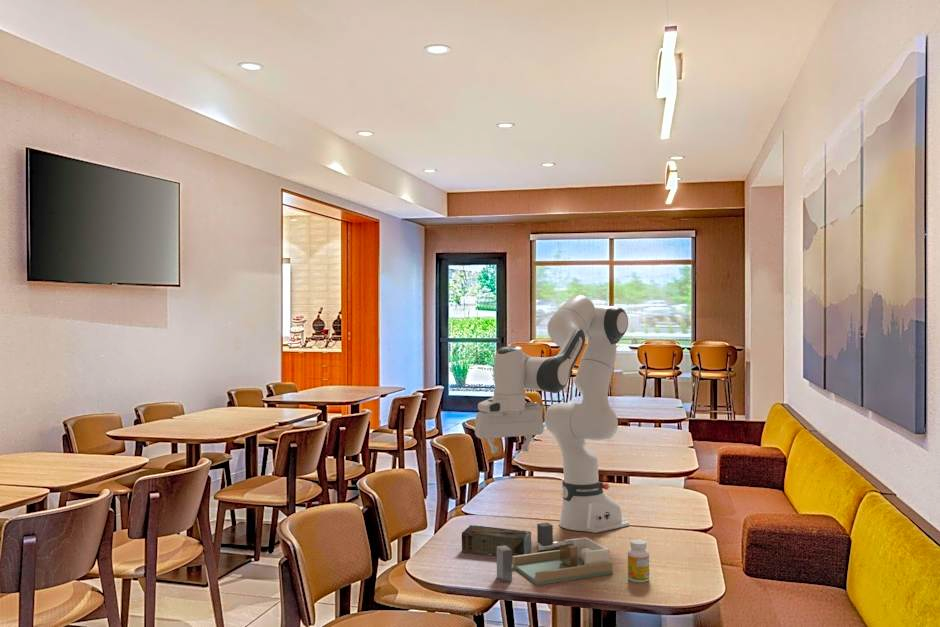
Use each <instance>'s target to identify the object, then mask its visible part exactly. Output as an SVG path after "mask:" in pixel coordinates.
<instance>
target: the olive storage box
mask: <svg viewBox="0 0 940 627" xmlns="http://www.w3.org/2000/svg"><path fill="white" fill-rule="evenodd" d="M504 545H506V546H507V547H508V548H510V549H511V550H512V558H513V556H517V555H524V554H528V553H529V554H530V553H531V551H532V531H528V530H520V529H511V528H503V527H492V526H484V525H476V524H475V525H473V524H470V525H469V526H468V527H467V528H466V529H464V531H462V532H461V553H466V552H470V553H469V554H475V553H481V554H480V555H484V554H491V555H490V556H493V555H497V546H504Z"/></svg>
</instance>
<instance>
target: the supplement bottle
mask: <svg viewBox="0 0 940 627" xmlns="http://www.w3.org/2000/svg"><path fill="white" fill-rule="evenodd" d="M627 578H628V580H629V581H631V582H634V583H647V582H648V581H649V580H650V552H649V550H648V549H647V541H646V540H644V539H639V538H638V539H632V540H630V548H629V549H628V551H627Z"/></svg>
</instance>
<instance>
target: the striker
mask: <svg viewBox="0 0 940 627" xmlns="http://www.w3.org/2000/svg"><path fill="white" fill-rule="evenodd" d="M536 525H537V526H536V529H537V537H536V538H537V539H536V540H537V543H538V544H536V548H537V551H539V550H546V549H554V548H560V561H561V562H563V563H564V564H566V565H567V566H569V567H575V566H578V556H577V547H576V546H575V545H573V541H572V540H568V539H565V540H566V541H564V540H560V541H554V540H553V538H554V536H553V535H554V533H553V530H554V527H553V524H551V523H549V522H541V523H537V524H536Z"/></svg>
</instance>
